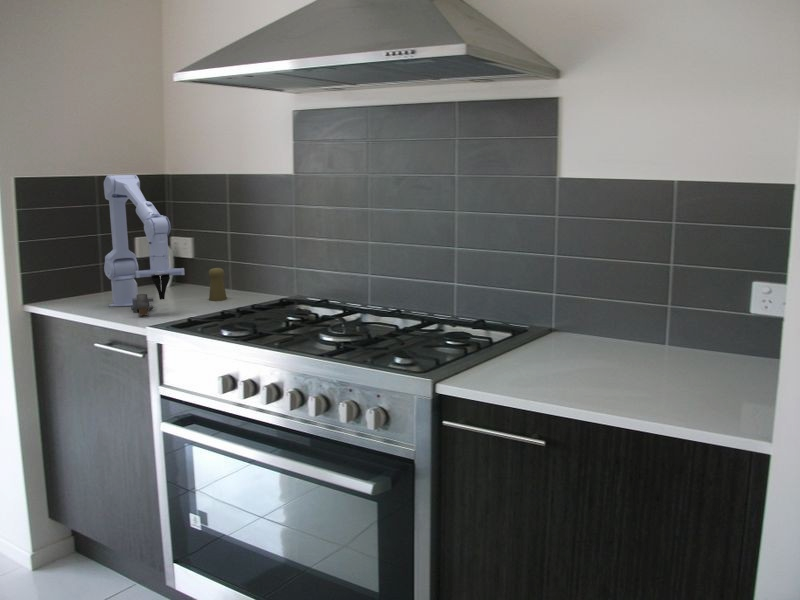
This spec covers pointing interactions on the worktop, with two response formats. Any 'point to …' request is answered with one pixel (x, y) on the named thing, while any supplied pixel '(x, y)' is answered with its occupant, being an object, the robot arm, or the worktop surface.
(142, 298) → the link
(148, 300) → the keeper
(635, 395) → the worktop surface
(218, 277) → the cork
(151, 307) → the pintle base
